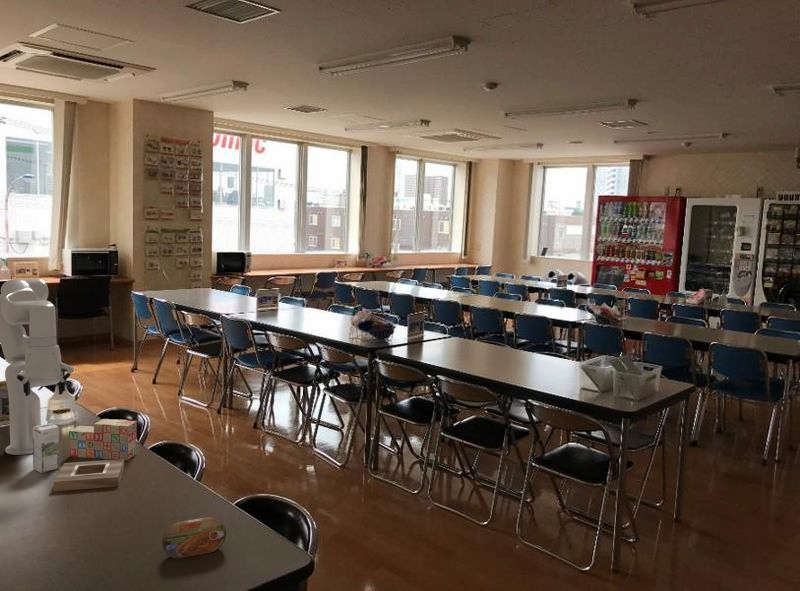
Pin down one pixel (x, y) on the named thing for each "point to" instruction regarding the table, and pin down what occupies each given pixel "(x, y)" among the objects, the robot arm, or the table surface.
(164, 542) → the tin
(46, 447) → the syrup box
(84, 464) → the socket board
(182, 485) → the table surface
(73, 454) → the stack of blocks
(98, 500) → the table surface
